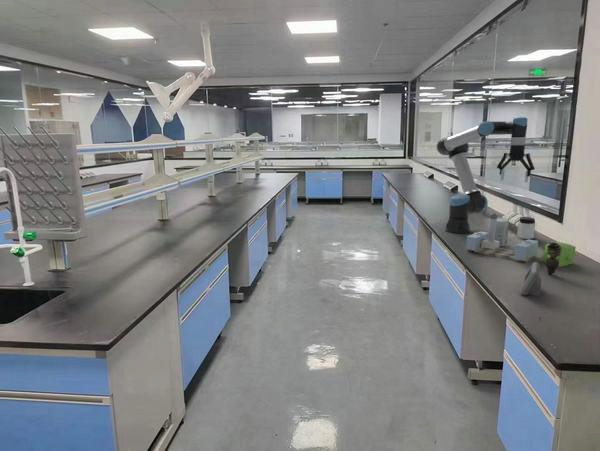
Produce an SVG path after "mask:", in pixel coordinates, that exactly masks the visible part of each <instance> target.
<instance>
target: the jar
mask: <svg viewBox="0 0 600 451" xmlns="http://www.w3.org/2000/svg"><path fill="white" fill-rule="evenodd" d="M517 223H518V224H517V233H516V237H517V238H519V239H525V240H528V239H530V240H533V239H534V236H535V227H536V219H535V217H530V216H521V217H519V221H518V222H517Z"/></svg>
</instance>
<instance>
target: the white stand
mask: <svg viewBox="0 0 600 451" xmlns="http://www.w3.org/2000/svg"><path fill="white" fill-rule="evenodd" d="M488 218H489V219H488V227H487V228H488V229H487V232H488V237H487V239H485V240H483V241H482V245H481V247H484V248H489V249H494V250H495V249H497V248H500V246H499V245H500V241H496V240H495V231H496V221H497V218H498V214H497V213H495V212H492V213H490V214H489V215H488Z"/></svg>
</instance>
